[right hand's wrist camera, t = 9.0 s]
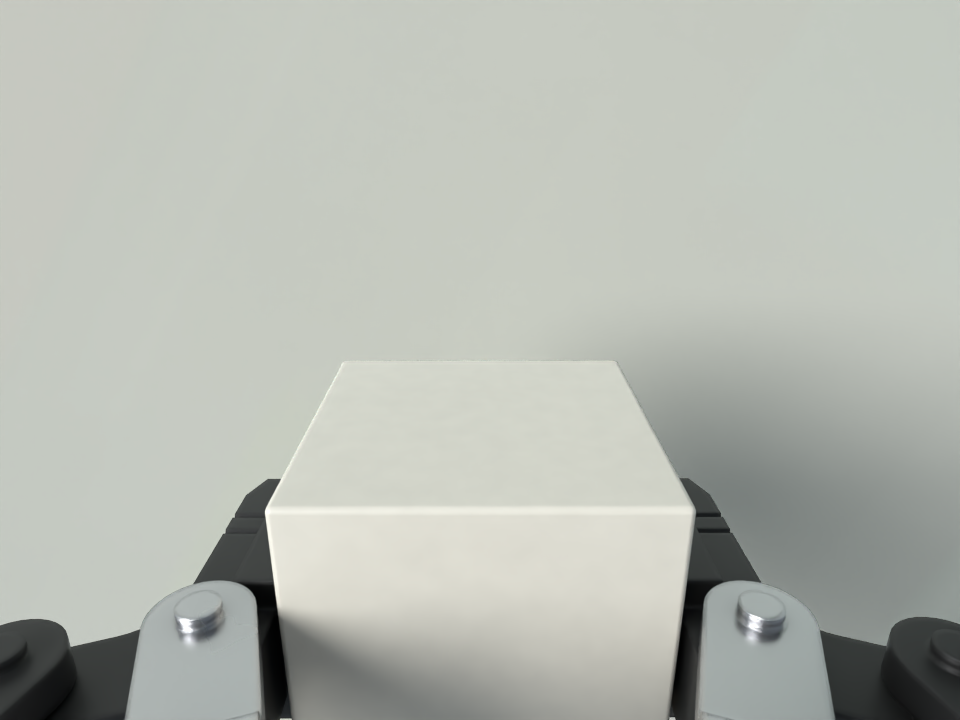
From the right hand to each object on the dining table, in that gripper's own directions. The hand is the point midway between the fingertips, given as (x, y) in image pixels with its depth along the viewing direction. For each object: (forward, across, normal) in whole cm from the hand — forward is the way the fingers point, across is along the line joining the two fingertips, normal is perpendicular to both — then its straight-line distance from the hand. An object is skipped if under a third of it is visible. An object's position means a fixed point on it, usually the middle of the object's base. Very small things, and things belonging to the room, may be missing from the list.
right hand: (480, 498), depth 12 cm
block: (0, 0, 0) cm, 0 cm away
